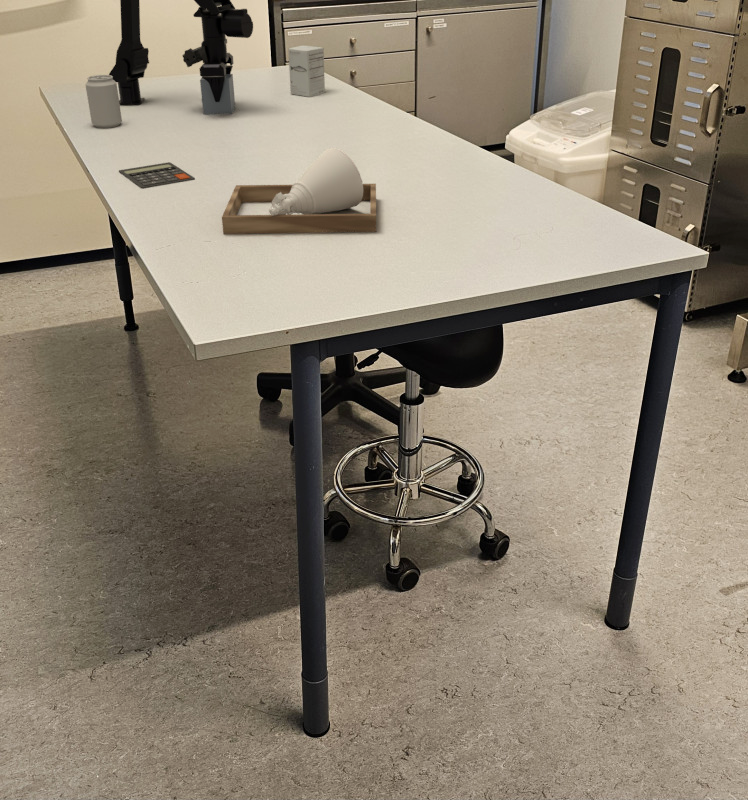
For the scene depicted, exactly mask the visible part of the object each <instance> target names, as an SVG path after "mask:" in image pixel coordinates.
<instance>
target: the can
mask: <svg viewBox="0 0 748 800" xmlns="http://www.w3.org/2000/svg"><path fill="white" fill-rule="evenodd" d="M86 79H87V82H86V83H85V91H86V96H87V104H88V108H89V115H90V120H91V124H92V125H93V126H95V127H96V128H97V129H99V128H100V129H109V128H115V127H118V126H119V125H120V124H121V123H122V122H123V118H122V112H121V111H122V110H121V105H120V104H119V100H120V96H119V89H118V82H115V81H114V80H113V76H111V75H109V74H94V75H90V76H87V78H86Z"/></svg>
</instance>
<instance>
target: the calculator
mask: <svg viewBox="0 0 748 800" xmlns="http://www.w3.org/2000/svg"><path fill="white" fill-rule="evenodd" d="M118 173H119V174H120V175H122V176H124V177H125V178H126V179H127V180H129V181H131V182H132V183H133V184H134V185H136V186H137V187H138V188H140V189H149V188H154V187H160V186H167V185H171V184H177V183H183V182H190V181H194V180H196V178H195V177H194V176H193V175H191V174H190V173H188V172H186V171H185V170H183V169H181V168H180V167H178V166H177V165H175V164H174V163H172V162H163V163H157V164H156V163H155V164H150V165H143V166H138V167H130V168H126V169H119V170H118Z"/></svg>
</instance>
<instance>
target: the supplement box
mask: <svg viewBox="0 0 748 800" xmlns="http://www.w3.org/2000/svg"><path fill="white" fill-rule="evenodd" d="M324 49H325V48H324V47H319V46H312V45H305V44H303V45H298V46H293V47H290V48H288V64H289V65H288V67H289V68H288V69H289V86H290V88H289V89H290V94H291V95H297V96H300V97H301V96H303V97H307V98H312V97H316V96H318V95H319V96H320V95H323V94H325V93H326V91H325V90H326V87H325V86H326V85H325V60H324V59H325V56H324V54H325V53H324Z"/></svg>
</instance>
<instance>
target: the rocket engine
mask: <svg viewBox="0 0 748 800" xmlns="http://www.w3.org/2000/svg"><path fill="white" fill-rule="evenodd" d="M363 184H364V183H363V179H362V176H361V173H360V171H359V169H358V167H357V165H356V164H355V162H354V161H353V160H352V158H351V157H350V156H349V155H348V154H347V153H345V152H344V151H343V150H342V149H339V148H337V147H336V148H335V147H329V148H327V149H326V150H324V151H323V152H321V154H319V156H317V157H316V159H314V161H312V162H311V164H309V166H308V167H307V168H306V169H305V170H304V171H303V173H302V174H301V176H300V177H299V178H298V179H297V181H296V182H294V183H293V184H292V185H293V186H292V188H291V190H290V193H288V194H284V195H283V194H282V193H281V192H280V193H278V194H276V196H275V197H274V199H273V201H272V202H271V206H270V208H269V209H268V213H269V215H273V216H274V215H294V214H297V215H300V214H322V213H323V214H324V213H330V212H337V211H343V210H347V209H351V208H354V207H356V206H358V205H360V203H361V202H362V201H361V200H362V197H363ZM285 198H286V199H285ZM283 199H284V200H283ZM282 200H283V201H282ZM281 201H282V202H281Z"/></svg>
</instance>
